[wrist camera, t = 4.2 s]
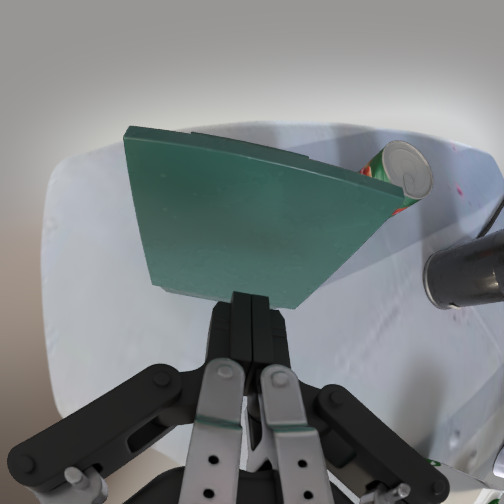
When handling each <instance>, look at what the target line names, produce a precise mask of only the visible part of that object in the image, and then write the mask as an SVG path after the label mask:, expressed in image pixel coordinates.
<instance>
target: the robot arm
mask: <svg viewBox="0 0 504 504" xmlns="http://www.w3.org/2000/svg"><path fill="white" fill-rule="evenodd" d="M503 207H504V200H503V201H502V203H501V204H500V206H499V208H498V209H497V211H496V213H495V214H494V216H493V218H492V219H491V221H490V222H489V224H488V225H487V227H486V228H485V229H484V230H483V231H482V233H481V234H480V235H479V236H478V238H477V239H475V240H472V241H470V242H467V243H464V244H461V245H458V246H456V247H453V248H450V249H447V250H444V251H439V252H436V253H434V254H432V255H431V256H430V257H429V259H428V261H427V263H426V265H425V269H424V287H425V291H426V294H427V296H428V298H429V300H430V301H431V303H432V304H433V305H434V306H435V307H437V308H439V309H443V310H446V309H451V308H455V309H462V308H459V307H466V306H474V305H481V304H488V303H495V302H501V301H504V229H502V230H499V231H497V232H494V233H491V234H489V235H486V236H485V234H486V233H487V232H488V231H489V229H490V228H491V227H492V225H493V223H494V222H495V220H496V218H497V217H498V215H499V213H500V211H501V210H502V208H503ZM243 396H247V407H246V409H245V424H246V435H247V446H248V459H247V465H246V471H245V470H241V469H239V465H240V454H241V444H242V426H241V411H242V401H243ZM191 423H194V424H193V429H192V434H191V439H190V445H189V450H188V455H187V460H186V465H185V466H182V467H177V468H173V469H170V470H168V471H165V472H163V473H161V474H160V475H158V476H157V477H155V478H154V479H153V480H152V481H150V482H149V483H148V484H147V485H145V486H144V487H143V488H142V489H140V490H139V491H138V492H137V493H135V494H134V495H133V496H132V497H130V498H129V499H128V500H127V501H125V502H124V503H123V504H354V503H353V502H352V501H351V500H350V499H349V498H348V497H347V496H346V495H345V494H344V493H343V492H342V491H341V490H340V489H339V488H338V487H337V486H336V485H335V484H333V483H332V482H331V481H329V477H328V473H327V469H328V470H329V471H330V472H331V473H332V474H333V475H334V476H335V477H336V478H337V479H338V480H340V481H341V482H342V483H343V484H344V485H345V486H346V487H347V488H348V489H349V490H351V491H352V492H353V493H354V494H355V495H356V496H357V497H358V498H360V502H359V504H440V503H442V502H444V501H445V500H446V499H447V497H448V496H449V493H450V484H449V481H448V479H447V478H446V476H445V475H443V474H442V473H441V472H440V471H439V470H437V469H436V468H435V467H434V466H433V465H432V464H430V463H429V462H428V461H427V460H426V459H424V458H423V457H422V456H421V455H420V454H419V453H417V452H416V451H415V450H414V449H413V448H412V447H411V446H409V445H408V444H407V443H406V442H405V441H404V440H402V439H401V438H400V437H399V436H398V435H397V434H396V433H395V432H393V431H392V430H391V429H390V428H389V427H388V426H387V425H385V424H384V423H383V422H382V421H381V420H380V419H379V418H378V417H377V416H375V415H374V414H373V413H372V412H371V411H370V410H369V409H368V408H367V407H365V406H364V405H363V404H362V403H361V402H360V401H359V400H358V399H357V398H356V397H354V396H353V395H352V394H351V393H350V392H349V391H348V390H347V389H345V388H344V387H342V386H340V385H336V384H329V385H326V386H324V387H323V388H322V389H319V388H316V387H313V386H310V385H307V384H305V383H303V382H301V381H300V380H299V379H298V378H297V376H296V374H295V373H294V372H293V371H292V370H291V366H290V358H289V350H288V342H287V334H286V327H285V319H284V318H283V316H282V315H281V313H280V312H279V310H273V309H270V304H269V297H268V296H262V295H255V294H251V295H250V294H249V293H243V292H237V291H233V292H232V296H231V300H230V303H228V302H222V301H219V302H218V303H217V304H216V305H215V307H214V308H213V311H212V316H211V321H210V327H209V332H208V340H207V348H206V356H205V363H204V364H203V365H202V366H201V367H200V368H198V369H196V370H193V371H186V372H179V371H178V370H177V369H175V368H174V367H172V366H170V365H167V364H154V365H151V366H149V367H147V368H146V369H144V370H143V371H141V372H139V373H138V374H136V375H135V376H133V377H131V378H130V379H128V380H127V381H125V382H123V383H122V384H120V385H119V386H117V387H115V388H114V389H112V390H111V391H109V392H107V393H106V394H104V395H102V396H101V397H99V398H98V399H96V400H94V401H93V402H91V403H89V404H88V405H86V406H84V407H83V408H81V409H79V410H78V411H76V412H74V413H73V414H71V415H69V416H67V417H66V418H64V419H62V420H61V421H59V422H57V423H55V424H54V425H52V426H50V427H48V428H47V429H45V430H43V431H41V432H40V433H38V434H36V435H34V436H33V437H31V438H30V439H27V440H26V441H24V442H22V443H20V444H18V445H17V446H15V447H14V448H12V449H11V451H10V452H9V454H8V458H7V465H8V469H9V472H10V473H11V475H12V476H13V478H14V479H15V480H16V481H17V482H19V483H20V484H22V485H23V486H25V487H26V488H27V489H28V490H30V491H31V492H33V493H34V494H35V496H36V497H37V499H38V500H39V501H40V503H41V504H102V503H104V502H105V501H106V499H107V497H108V486H107V484H106V482H105V481H104V479H105V478H106V477H108V476H109V475H111V474H112V473H114V472H115V471H117V470H118V469H119V468H121V467H122V466H124V465H125V464H126V463H128V462H129V461H131V460H132V459H134V458H135V457H136V456H138V455H139V454H141V453H142V452H143V451H145V450H146V449H147V448H149V447H150V446H152V445H153V444H154V443H156V442H157V441H158V440H160V439H161V438H162V437H163V436H165V435H166V434H167V433H169V432H170V431H171V430H173V429H174V428H175V427H176V426H177V425H184V424H191Z"/></svg>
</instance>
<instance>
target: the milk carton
mask: <svg viewBox="0 0 504 504" xmlns="http://www.w3.org/2000/svg"><path fill="white" fill-rule="evenodd" d="M424 459H425V458H424ZM426 460H427V461H428V462H429V463H430V464H432V465H433V466H434V467H435V468H436V469H437V470H439V471H440V472H441V473H442V474H443V475H445V476H446V478H447V479H448V481H449V484H450V493H449V496H448V497H447V499H446V500H445V501H444V502H442V503H440V504H498V501H499V500H500V497H501V496H502V494H503V492H504V491H503V490H501V489H499V488H498V487H496V486H494V485H493V484H490V483H488V482H486V481H484V480H481V479H479V478H476V477H473V476H471V475H469V474H466V473H464V472H462V471H459V470H457V469H454V468H452V467H450V466H447V465H445V464H443V463H440V462H437V461H433V460H429V459H426Z"/></svg>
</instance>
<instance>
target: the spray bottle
mask: <svg viewBox="0 0 504 504" xmlns="http://www.w3.org/2000/svg"><path fill="white" fill-rule="evenodd" d="M493 472H494V474H495V475H496V476H499V477H502V478H504V447H503V448H502V449H501V451H500V453H499V454H498V456H497V459H496V461H495V464H494V468H493Z"/></svg>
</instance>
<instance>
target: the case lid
mask: <svg viewBox="0 0 504 504" xmlns="http://www.w3.org/2000/svg"><path fill="white" fill-rule="evenodd" d="M123 140H124V147H125V154H126V161H127V167H128V173H129V179H130V185H131V191H132V196H133V201H134V207H135V212H136V217H137V222H138V226H139V231H140V236H141V240H142V245H143V249H144V253H145V257H146V262H147V266H148V270H149V274H150V278H151V281H152V285H156V286H161V287H166V288H171V289H176V290H182V291H187V292H192V293H198V294H203V295H209V296H214V297H220V298H226V299H231V296H232V292H233V291H237V292H243V293H249V294H250V295H251V294H255V295H262V296H268V297H269V304H270V306H275V307H282V308H288V309H296V308H297V307H298V306H299V305H300V304H301V303H302V302H303V301H304V300H305V299H306V298H308V297H309V296H310V295H311V294H312V293H313V292H314V291H315V290H316V289H317V288H318V287H319V286H320V285H322V284H323V283H324V282H325V281H326V280H327V279H328V278H329V277H330V276H331V275H332V274H333V273H334V272H335V271H336V270H337V269H338V268H339V267H340V266H341V265H342V264H343V263H344V262H345V261H347V260H348V259H349V258H350V257H351V256H352V255H353V254H354V253H355V252H356V251H357V250H358V249H359V248H360V247H361V246H362V245H363V244H364V243H365V242H366V241H367V240H368V239H369V238H370V237H371V236H372V235H373V233H374V232H375V231H376V230H377V229H378V228H379V227H380V226H381V225H382V224H383V223H384V222H385V221H386V220H387V219H388V218H389V217H390V216H391V215H392V214H393V213H394V212H395V211H396V210H397V208H398V207H399V206H400V205H401V204H402V203H403V202H404V201H405V195H404V191H403V188H402V187H400V186H397V185H394V184H391V183H388V182H385V181H382V180H379V179H376V178H373V177H370V176H367V175H363V174H360V173H357V172H354V171H350V170H347V169H344V168H340V167H337V166H333V165H330V164H326V163H323V162H319V161H315V160H311V159H308V158H304V157H300V156H296V155H292V154H288V153H284V152H280V151H275V150H271V149H267V148H262V147H258V146H253V145H248V144H243V143H239V142H234V141H228V140H223V139H218V138H212V137H207V136H201V135H195V134H189V133H182V132H176V131H169V130H162V129H154V128H146V127H138V126H129V128H128V129H127V131H126V133H125V135H124V136H123Z"/></svg>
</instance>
